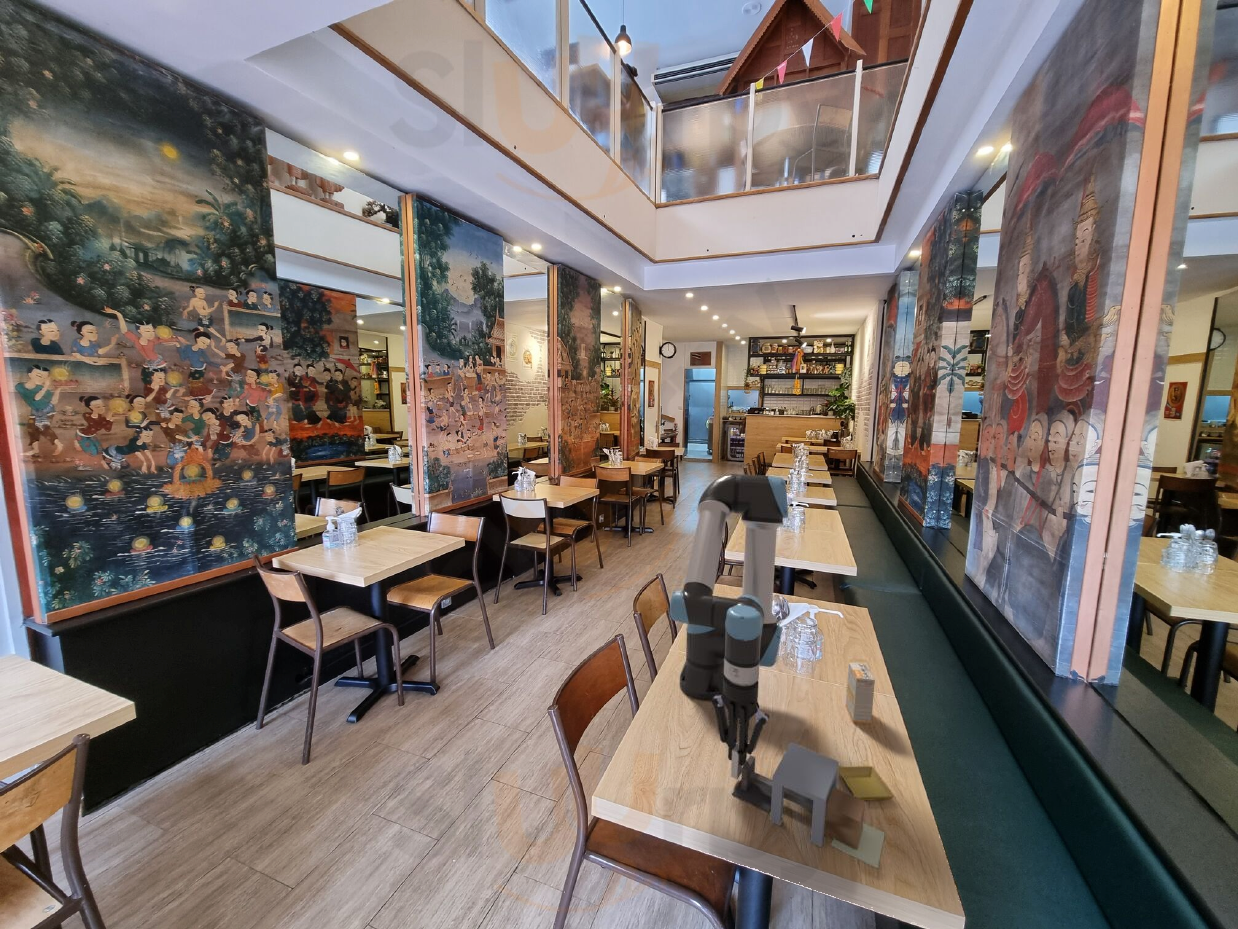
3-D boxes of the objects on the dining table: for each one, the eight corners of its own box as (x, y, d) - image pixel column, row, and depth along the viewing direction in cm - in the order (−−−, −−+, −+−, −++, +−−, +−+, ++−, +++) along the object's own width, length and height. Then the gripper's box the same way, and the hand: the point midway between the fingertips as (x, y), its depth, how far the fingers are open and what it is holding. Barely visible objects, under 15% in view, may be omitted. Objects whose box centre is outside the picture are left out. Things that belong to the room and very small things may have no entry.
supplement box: (872, 726, 129) (876, 680, 128) (852, 723, 130) (856, 678, 129) (863, 707, 137) (866, 663, 136) (844, 704, 138) (848, 661, 137)
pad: (831, 845, 94) (831, 844, 94) (841, 814, 102) (841, 813, 102) (877, 869, 90) (877, 867, 90) (884, 834, 97) (884, 833, 97)
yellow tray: (894, 804, 105) (895, 796, 104) (855, 806, 104) (856, 797, 104) (871, 773, 113) (872, 765, 113) (835, 774, 113) (836, 766, 113)
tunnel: (770, 820, 100) (772, 775, 99) (788, 783, 110) (791, 742, 108) (821, 847, 94) (824, 800, 93) (835, 805, 104) (839, 762, 102)
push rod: (739, 791, 107) (741, 766, 106) (750, 774, 112) (751, 750, 111) (857, 850, 93) (859, 822, 92) (863, 828, 98) (865, 801, 97)
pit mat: (732, 794, 106) (732, 793, 106) (747, 769, 114) (747, 768, 114) (768, 813, 102) (768, 812, 102) (781, 785, 109) (781, 784, 109)
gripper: (706, 674, 108) (702, 771, 111) (763, 696, 100) (758, 799, 103) (720, 660, 114) (717, 752, 117) (776, 680, 106) (770, 778, 109)
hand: (736, 774), depth 110 cm, fingers closed
